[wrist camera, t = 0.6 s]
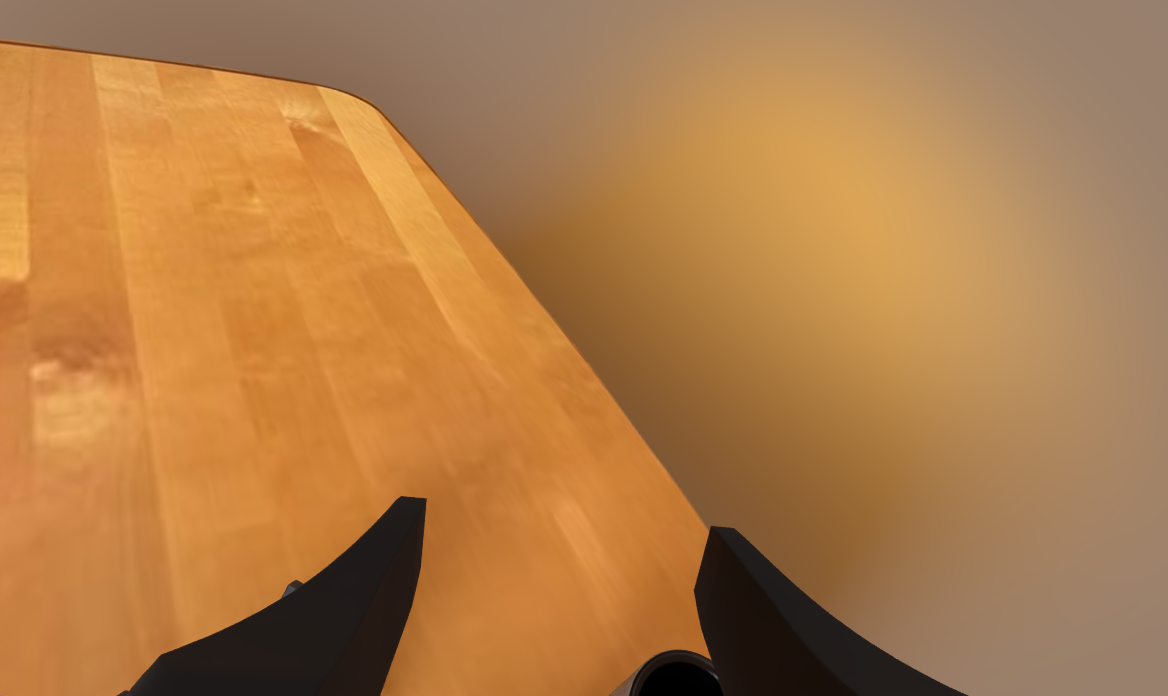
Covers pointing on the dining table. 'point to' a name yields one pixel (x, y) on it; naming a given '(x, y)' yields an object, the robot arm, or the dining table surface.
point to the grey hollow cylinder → (672, 676)
